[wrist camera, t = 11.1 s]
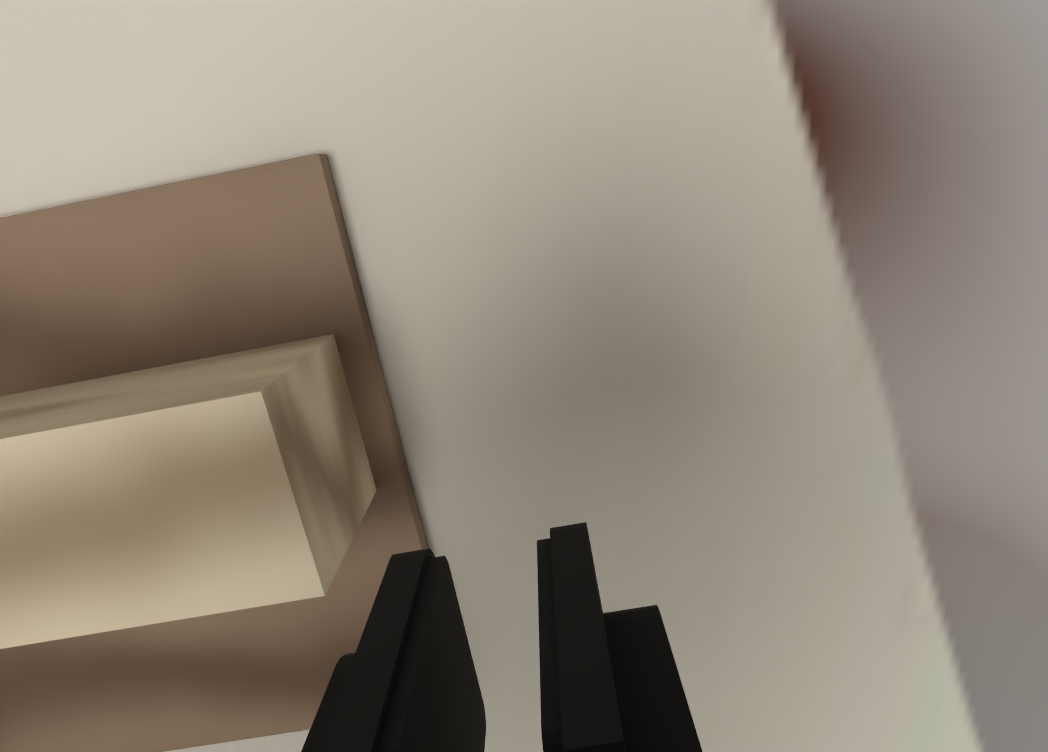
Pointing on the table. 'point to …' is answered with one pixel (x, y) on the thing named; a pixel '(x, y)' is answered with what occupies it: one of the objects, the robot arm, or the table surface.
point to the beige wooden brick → (177, 491)
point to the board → (174, 337)
